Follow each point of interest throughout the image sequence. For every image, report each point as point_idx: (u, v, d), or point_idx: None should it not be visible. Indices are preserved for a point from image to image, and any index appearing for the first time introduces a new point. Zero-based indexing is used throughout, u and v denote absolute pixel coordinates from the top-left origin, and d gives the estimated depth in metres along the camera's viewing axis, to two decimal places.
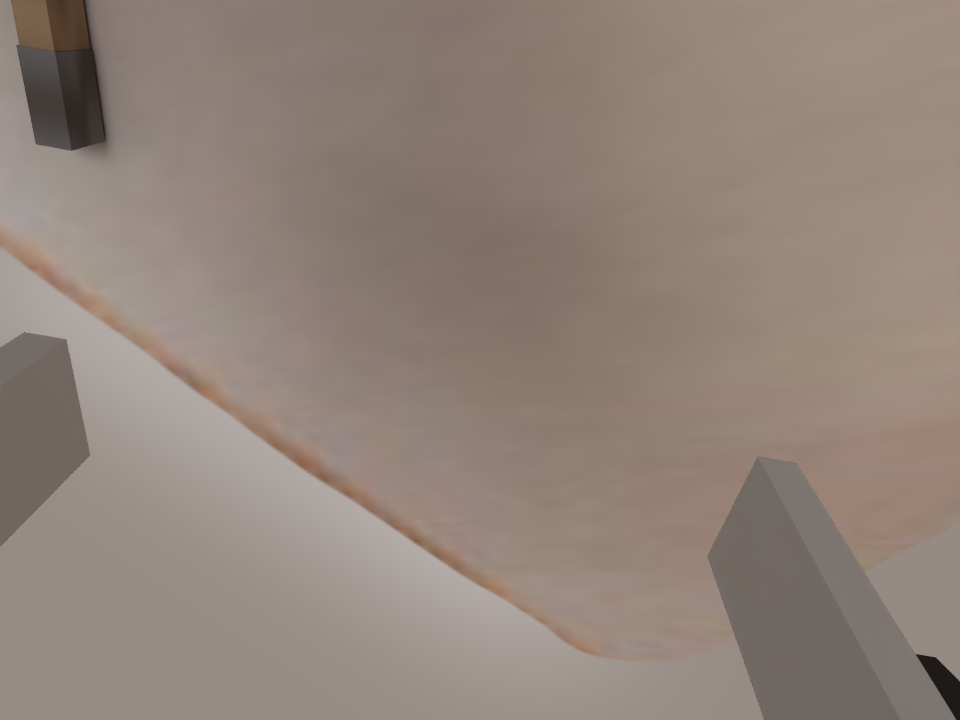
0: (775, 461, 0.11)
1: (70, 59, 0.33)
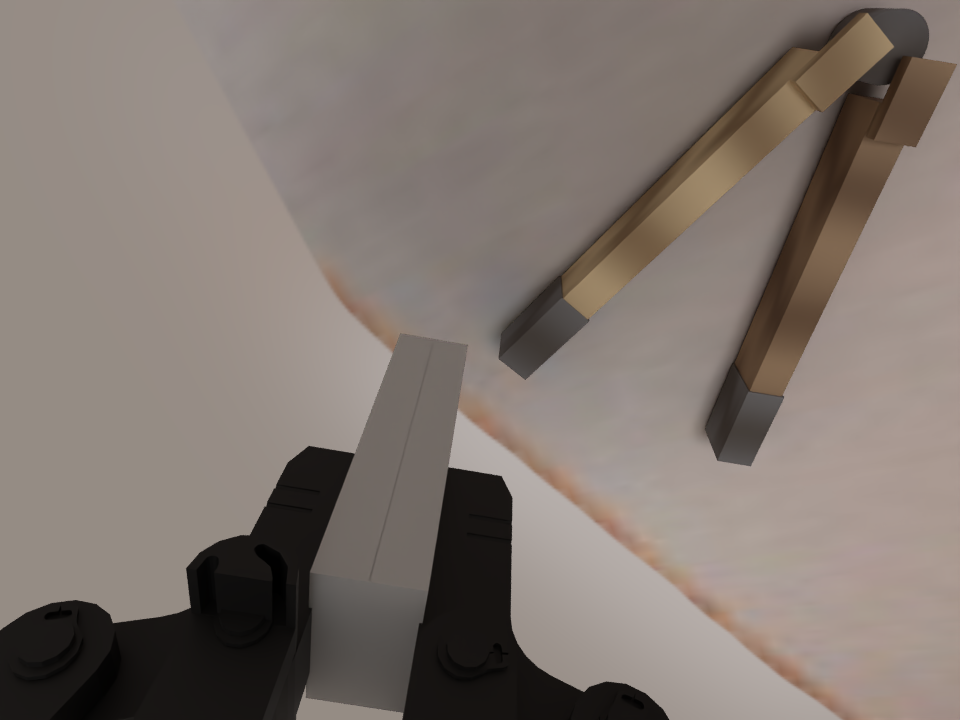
0: (448, 342, 0.13)
1: None
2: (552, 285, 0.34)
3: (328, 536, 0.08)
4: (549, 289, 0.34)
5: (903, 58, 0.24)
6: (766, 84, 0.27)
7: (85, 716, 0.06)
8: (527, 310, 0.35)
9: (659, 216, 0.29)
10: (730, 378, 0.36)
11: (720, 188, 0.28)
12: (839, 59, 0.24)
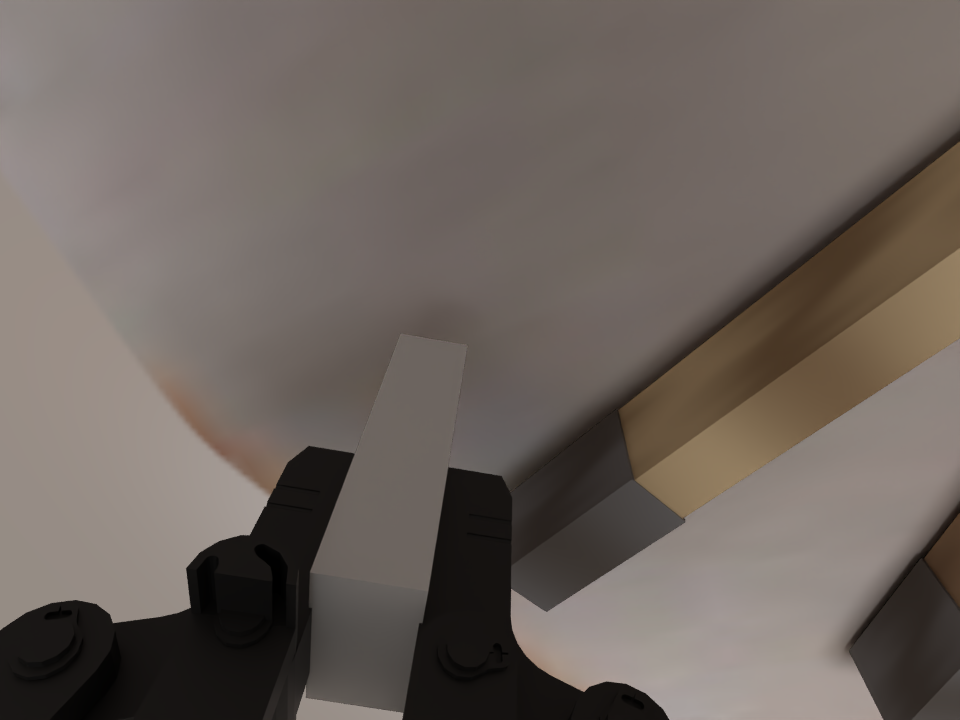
0: (447, 342, 0.13)
1: None
2: (601, 428, 0.17)
3: (328, 536, 0.08)
4: (595, 436, 0.17)
5: None
6: None
7: (85, 716, 0.06)
8: (550, 469, 0.18)
9: (877, 326, 0.12)
10: (917, 586, 0.20)
11: None
12: None
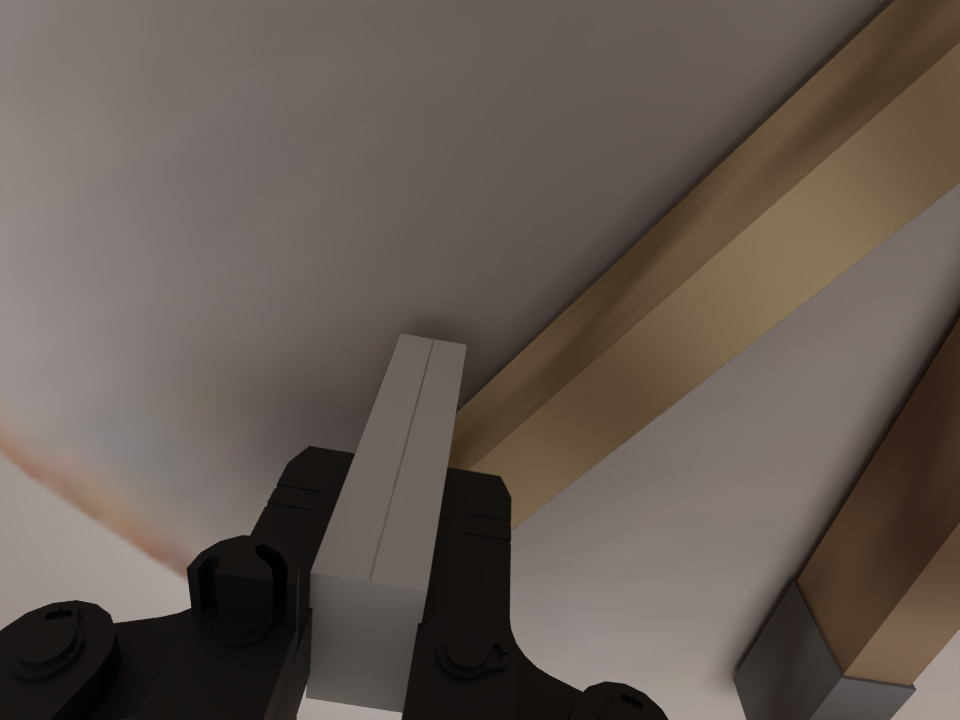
0: (446, 342, 0.13)
1: None
2: None
3: (328, 536, 0.08)
4: None
5: None
6: None
7: (86, 716, 0.06)
8: None
9: (656, 332, 0.11)
10: (789, 611, 0.18)
11: (825, 266, 0.10)
12: None
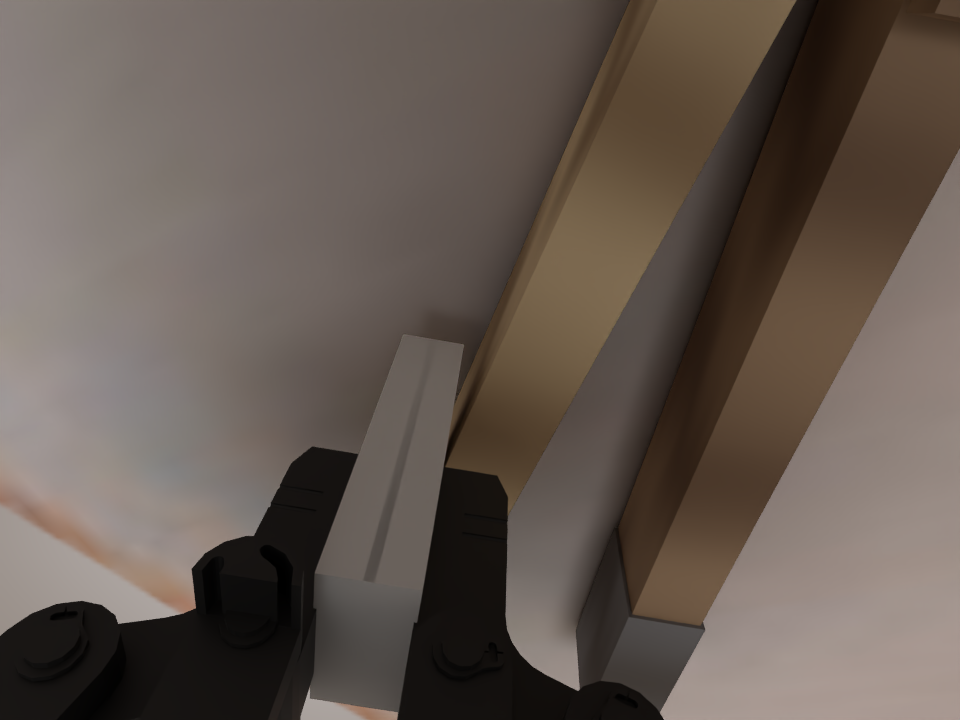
0: (444, 342, 0.13)
1: None
2: None
3: (332, 537, 0.08)
4: None
5: None
6: None
7: (91, 717, 0.06)
8: None
9: (511, 369, 0.12)
10: (610, 558, 0.18)
11: (625, 270, 0.11)
12: None
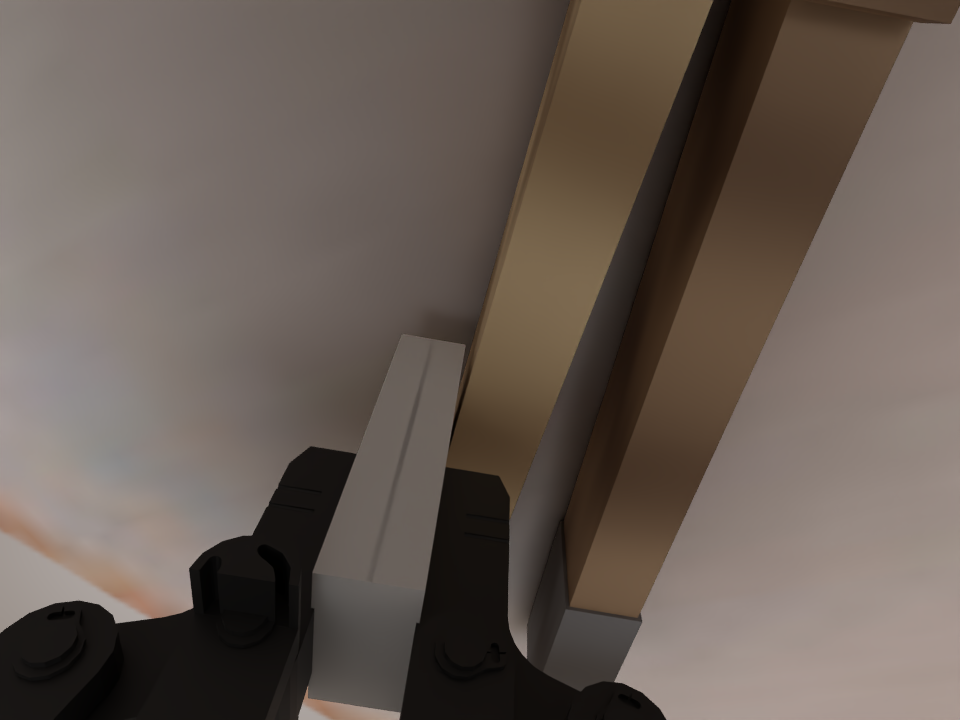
0: (445, 342, 0.13)
1: None
2: None
3: (330, 537, 0.08)
4: None
5: None
6: None
7: (88, 717, 0.06)
8: None
9: (487, 384, 0.12)
10: (555, 551, 0.18)
11: (585, 278, 0.11)
12: None
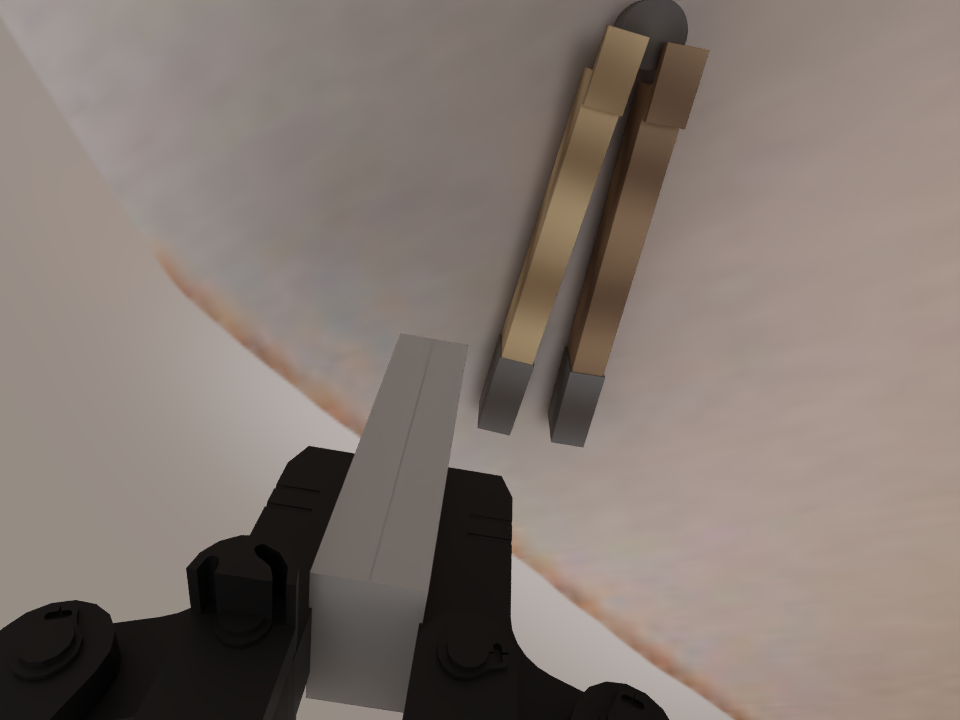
0: (447, 342, 0.13)
1: None
2: (497, 344, 0.36)
3: (327, 536, 0.08)
4: (496, 349, 0.36)
5: (664, 44, 0.26)
6: (574, 109, 0.29)
7: (85, 716, 0.06)
8: (488, 373, 0.37)
9: (541, 257, 0.31)
10: (563, 361, 0.37)
11: (578, 212, 0.30)
12: (609, 70, 0.26)
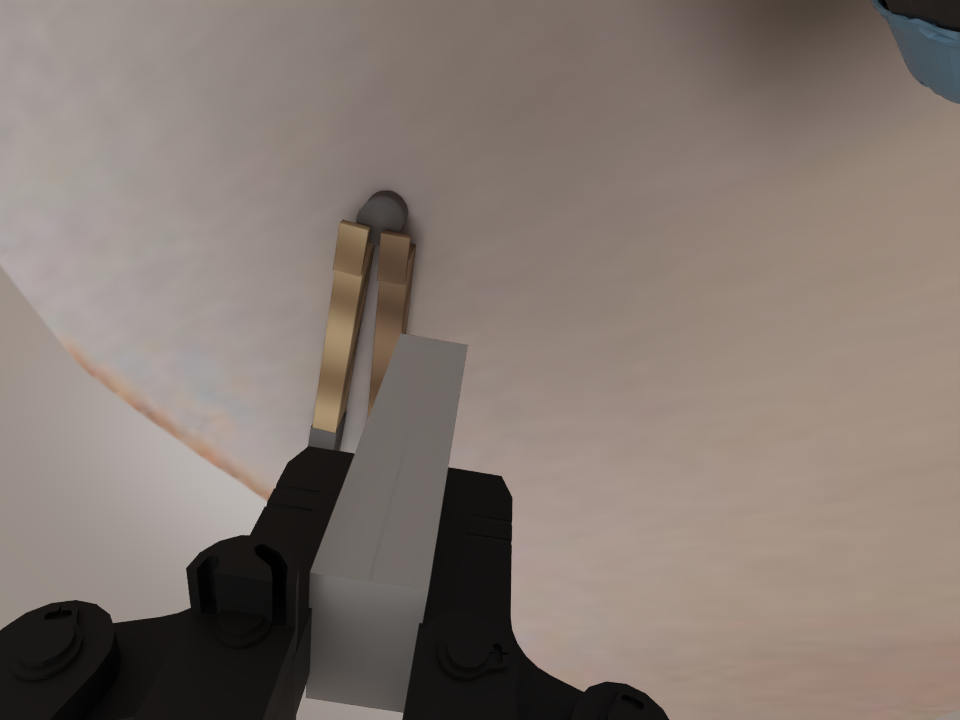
0: (447, 342, 0.13)
1: None
2: None
3: (328, 536, 0.08)
4: None
5: (382, 231, 0.38)
6: None
7: (86, 716, 0.06)
8: None
9: (327, 361, 0.43)
10: None
11: (347, 333, 0.42)
12: (345, 249, 0.38)
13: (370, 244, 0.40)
